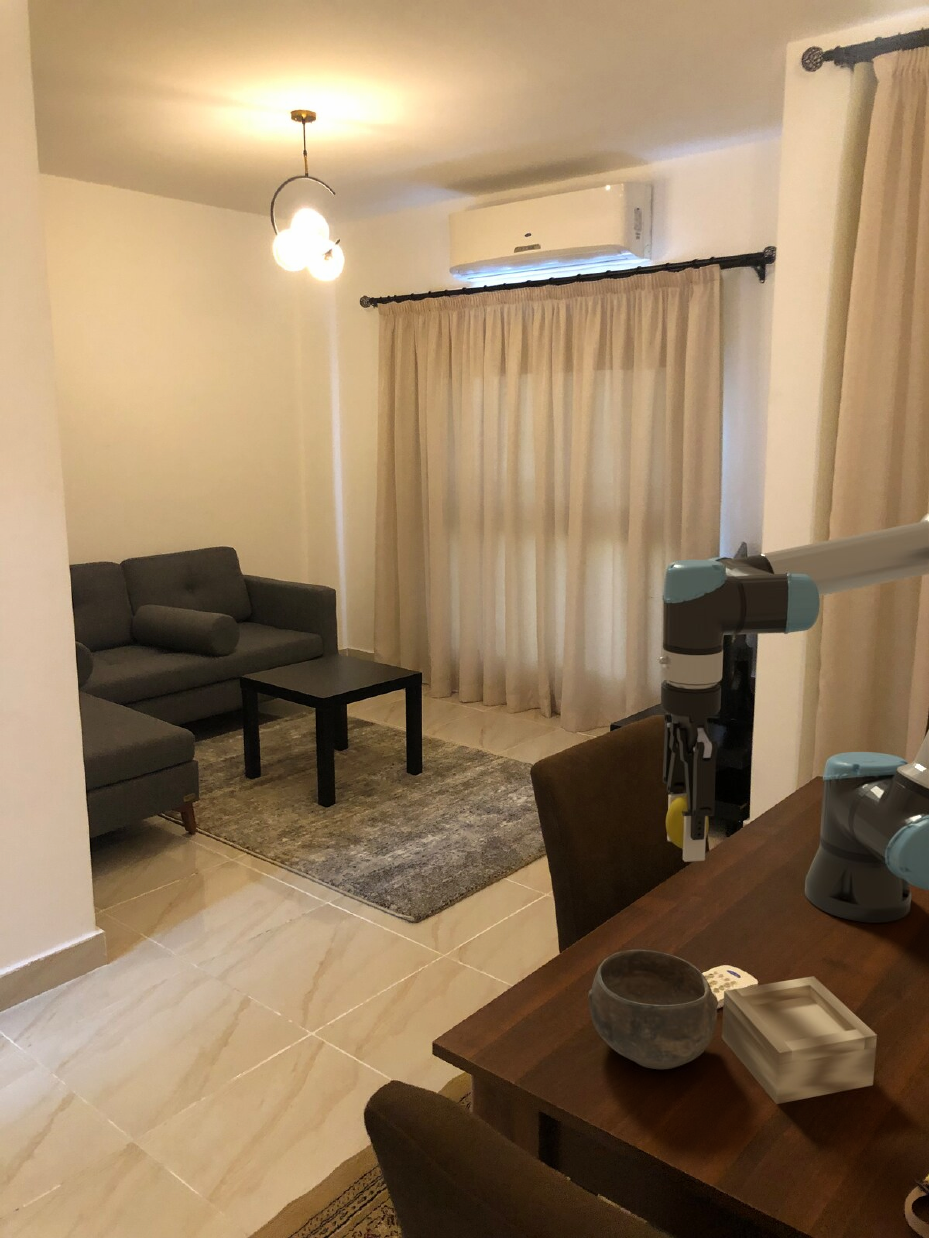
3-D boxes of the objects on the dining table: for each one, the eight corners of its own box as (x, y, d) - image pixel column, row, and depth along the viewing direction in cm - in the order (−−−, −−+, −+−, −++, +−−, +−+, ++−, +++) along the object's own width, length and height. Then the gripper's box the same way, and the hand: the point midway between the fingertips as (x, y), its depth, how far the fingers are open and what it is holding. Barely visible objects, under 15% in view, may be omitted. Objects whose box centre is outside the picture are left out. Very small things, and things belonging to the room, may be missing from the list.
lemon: (708, 861, 127) (710, 803, 125) (664, 858, 128) (666, 801, 126) (707, 844, 132) (708, 788, 130) (665, 841, 133) (666, 785, 132)
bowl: (695, 1108, 105) (699, 1025, 103) (564, 1065, 113) (564, 986, 111) (728, 1037, 117) (732, 962, 115) (607, 1002, 125) (609, 930, 123)
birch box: (810, 1023, 120) (813, 976, 119) (872, 1087, 109) (877, 1035, 107) (721, 1039, 117) (724, 990, 116) (776, 1105, 106) (779, 1052, 105)
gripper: (641, 664, 134) (637, 823, 138) (687, 702, 116) (681, 883, 120) (694, 662, 135) (688, 820, 139) (748, 699, 117) (740, 879, 121)
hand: (685, 849), depth 130 cm, fingers closed on lemon, 5 cm apart
